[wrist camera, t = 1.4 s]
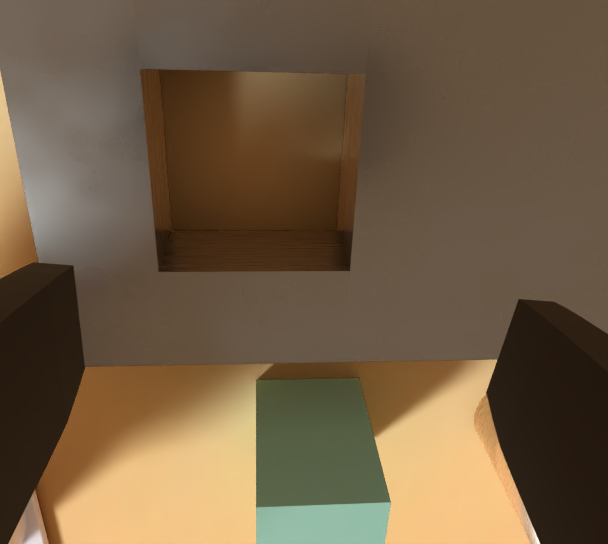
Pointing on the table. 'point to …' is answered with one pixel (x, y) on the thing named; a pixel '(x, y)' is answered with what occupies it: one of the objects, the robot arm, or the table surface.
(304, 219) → the table surface
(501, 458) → the round peg
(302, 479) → the square peg
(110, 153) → the bore block
